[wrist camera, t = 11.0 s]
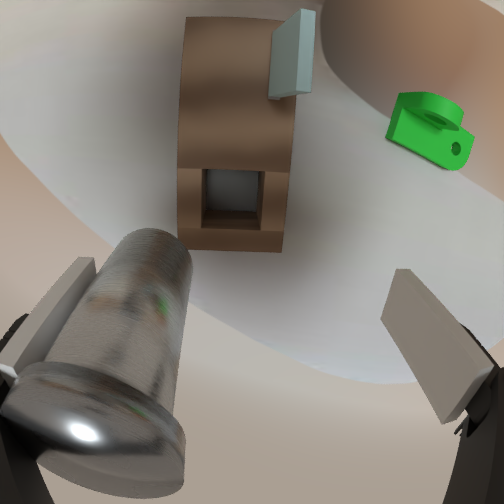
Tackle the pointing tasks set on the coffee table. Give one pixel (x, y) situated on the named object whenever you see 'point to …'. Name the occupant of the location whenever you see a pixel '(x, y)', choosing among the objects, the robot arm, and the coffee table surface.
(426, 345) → the robot arm
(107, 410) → the grey cylinder
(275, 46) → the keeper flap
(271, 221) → the block
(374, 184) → the coffee table surface
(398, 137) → the mechanical part
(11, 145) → the coffee table surface
